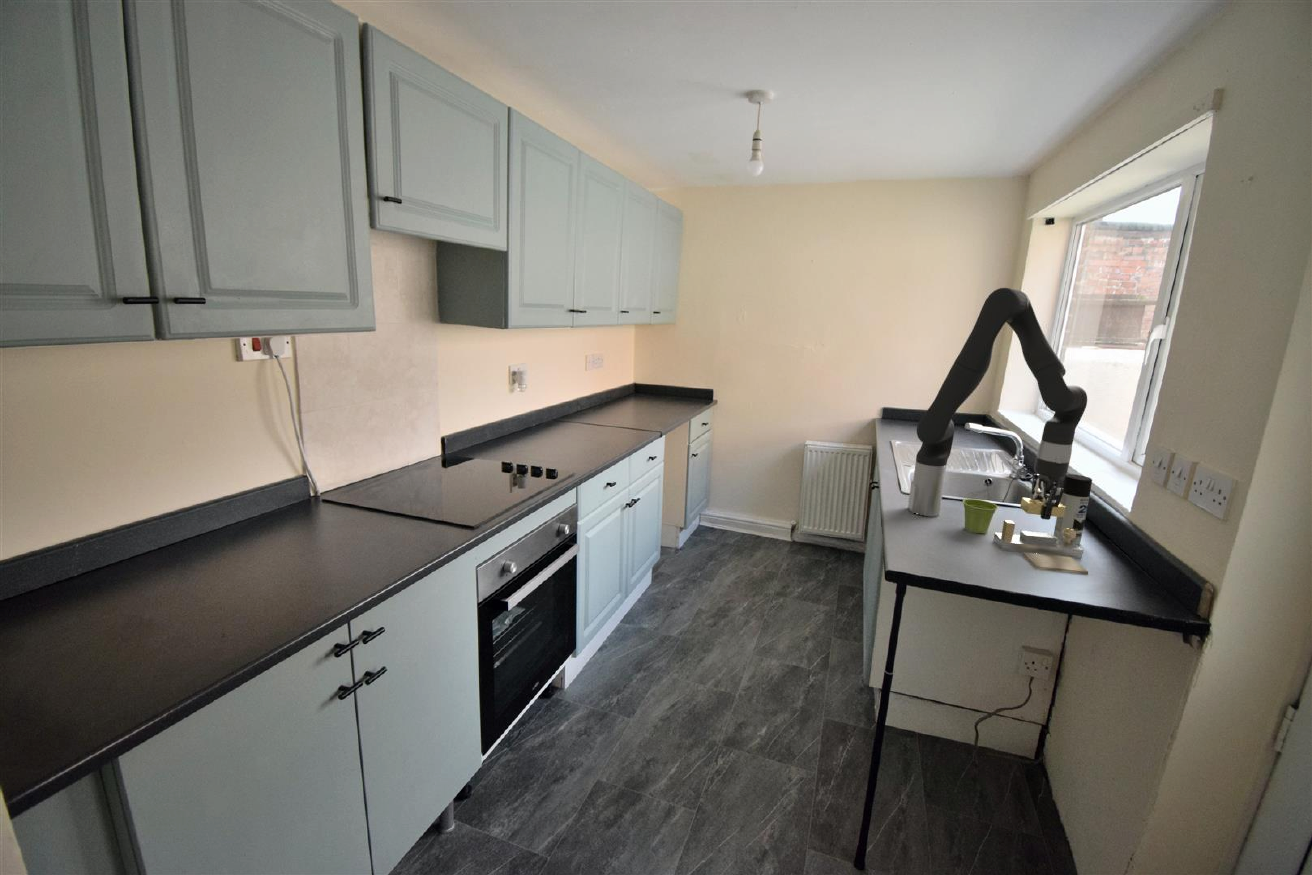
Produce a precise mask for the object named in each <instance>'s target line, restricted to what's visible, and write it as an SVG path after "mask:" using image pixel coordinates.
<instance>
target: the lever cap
mask: <svg viewBox="0 0 1312 875" xmlns="http://www.w3.org/2000/svg"><path fill="white" fill-rule="evenodd" d="M1047 501H1048V499H1047ZM1055 502H1056V500H1055ZM1042 507H1043V499H1034V498H1029V497H1022V498H1021V501H1020V507H1019V508H1021V509H1022V511H1024V512H1025V513H1026V514H1028V515H1039V516H1041V512H1042ZM1065 508H1066V507H1065V506H1063V505H1062V504H1061V503H1059V506H1058V507H1053V508H1052V513H1051V517H1055V518H1057V517H1064V513H1065Z"/></svg>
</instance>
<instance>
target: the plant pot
mask: <svg viewBox="0 0 1312 875" xmlns="http://www.w3.org/2000/svg"><path fill="white" fill-rule="evenodd" d="M962 503H963V508H964V529H965V530H967V531H968V532H970V533H973V534H982V535H983V534H987V533H988V530H989V527H990V525H991V522H992V519H993V517H994V514H995V512H996V511H997V509H998V508H999V507H998V505H997V504H995V503H993V502H990V501H986V500H982V499H977V498H970V499H969V498H967V499H966V498H965V499H963V500H962Z"/></svg>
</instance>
